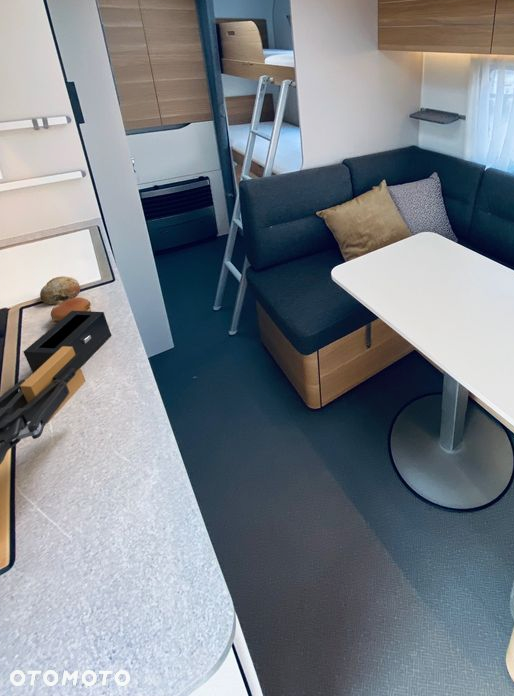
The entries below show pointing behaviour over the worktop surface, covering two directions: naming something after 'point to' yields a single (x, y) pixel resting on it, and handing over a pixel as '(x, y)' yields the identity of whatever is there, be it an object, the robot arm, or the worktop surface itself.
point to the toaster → (70, 337)
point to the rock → (59, 290)
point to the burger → (69, 308)
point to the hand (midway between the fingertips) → (74, 357)
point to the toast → (46, 374)
